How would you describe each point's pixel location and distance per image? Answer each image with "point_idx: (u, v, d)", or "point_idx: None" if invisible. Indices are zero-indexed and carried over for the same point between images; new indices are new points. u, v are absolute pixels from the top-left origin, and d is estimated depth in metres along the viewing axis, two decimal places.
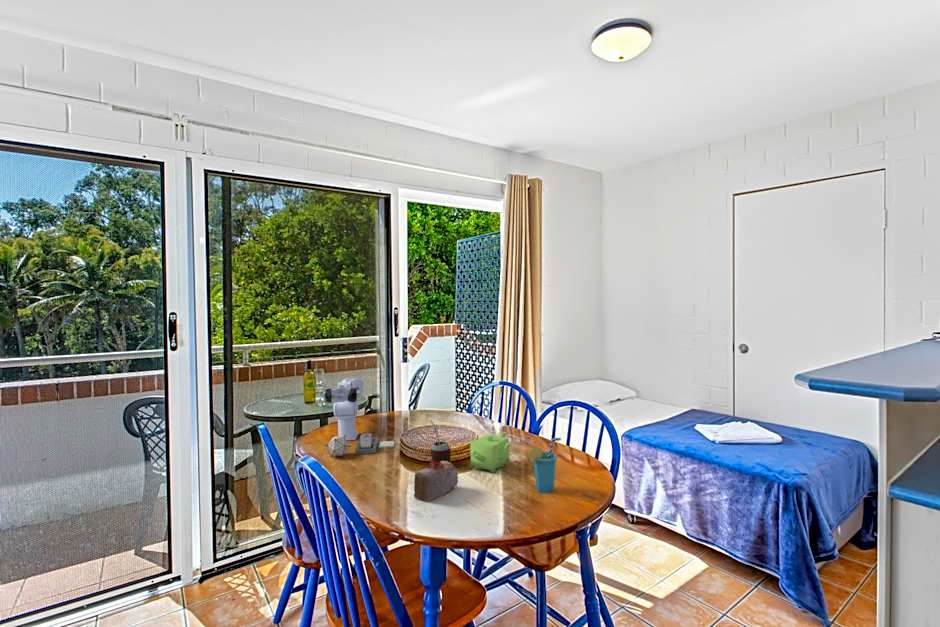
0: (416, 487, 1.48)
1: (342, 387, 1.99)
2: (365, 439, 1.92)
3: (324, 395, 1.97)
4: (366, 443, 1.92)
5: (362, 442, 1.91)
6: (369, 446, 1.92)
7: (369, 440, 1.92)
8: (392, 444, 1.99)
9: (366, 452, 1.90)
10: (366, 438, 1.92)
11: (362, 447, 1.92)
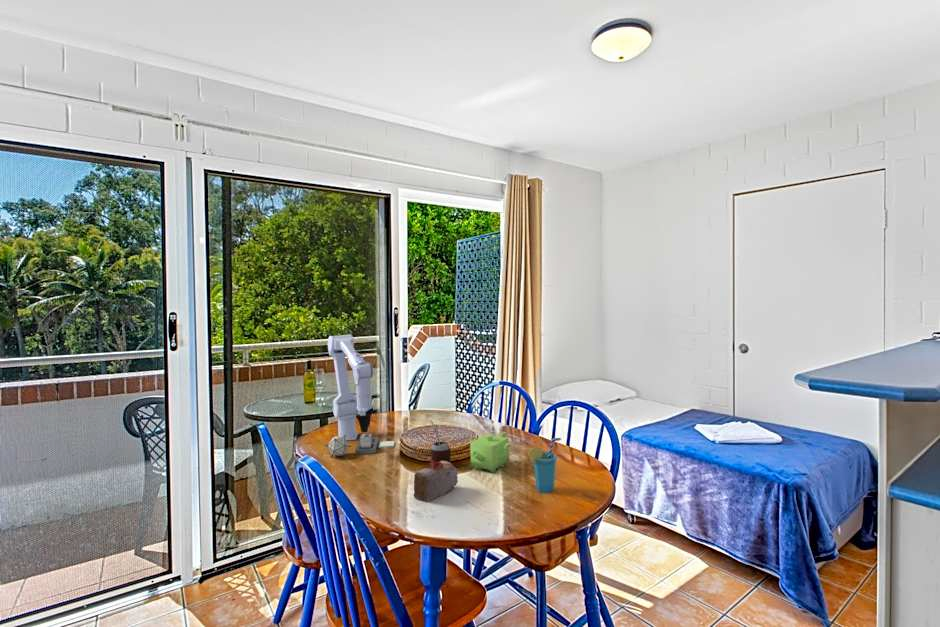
0: (416, 487, 1.48)
1: None
2: (365, 439, 1.92)
3: None
4: (366, 443, 1.92)
5: (362, 442, 1.91)
6: (369, 446, 1.92)
7: (369, 440, 1.92)
8: (392, 444, 1.99)
9: (366, 452, 1.90)
10: (366, 438, 1.92)
11: (362, 447, 1.92)
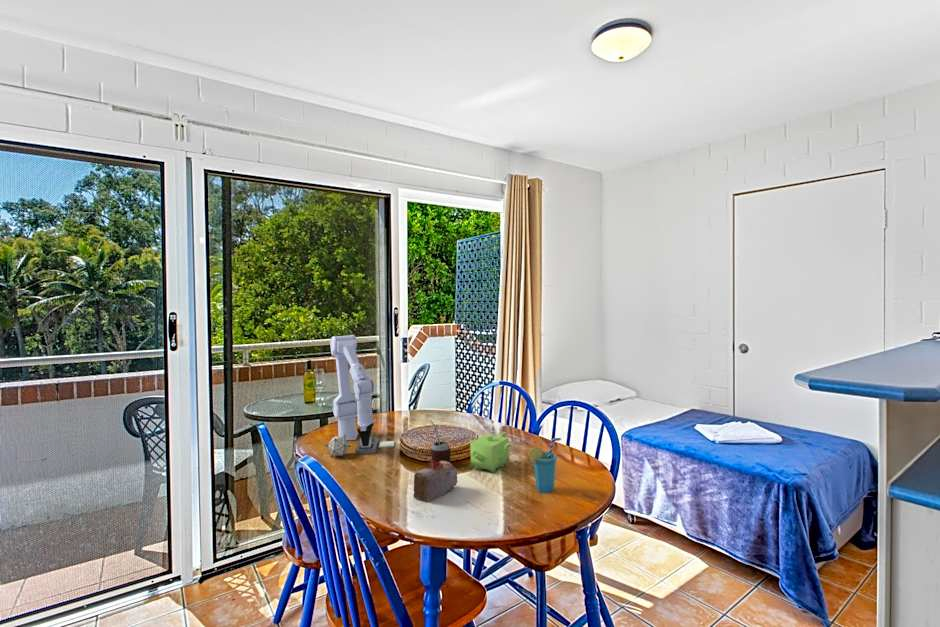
0: (416, 487, 1.48)
1: None
2: None
3: None
4: None
5: None
6: (369, 446, 1.92)
7: (369, 440, 1.92)
8: (392, 444, 1.99)
9: (366, 452, 1.90)
10: None
11: (362, 447, 1.92)
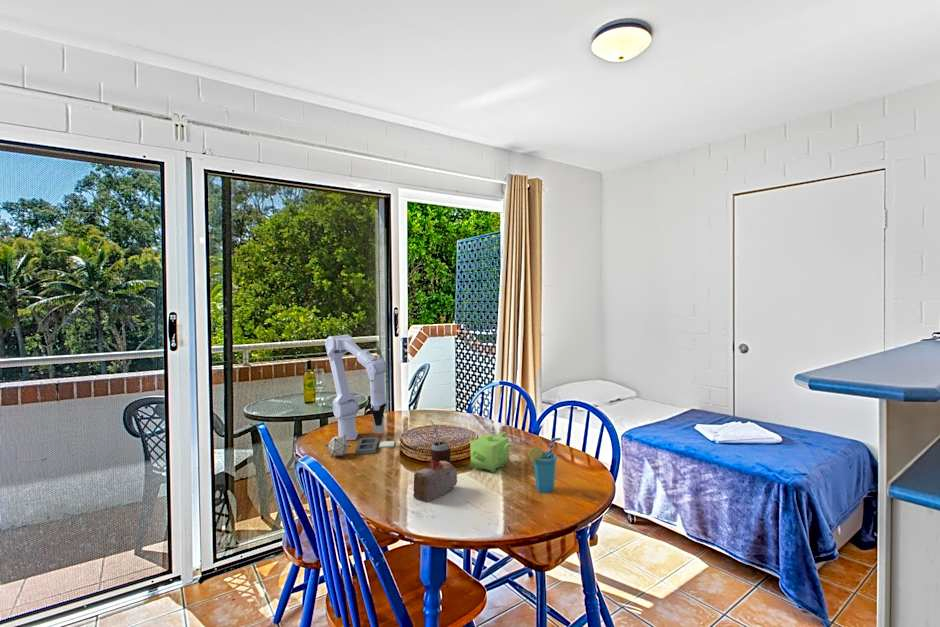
0: (415, 487, 1.48)
1: None
2: None
3: (376, 409, 1.90)
4: None
5: None
6: (382, 426, 1.95)
7: (382, 421, 1.95)
8: (392, 444, 1.99)
9: (366, 452, 1.90)
10: None
11: (375, 427, 1.95)
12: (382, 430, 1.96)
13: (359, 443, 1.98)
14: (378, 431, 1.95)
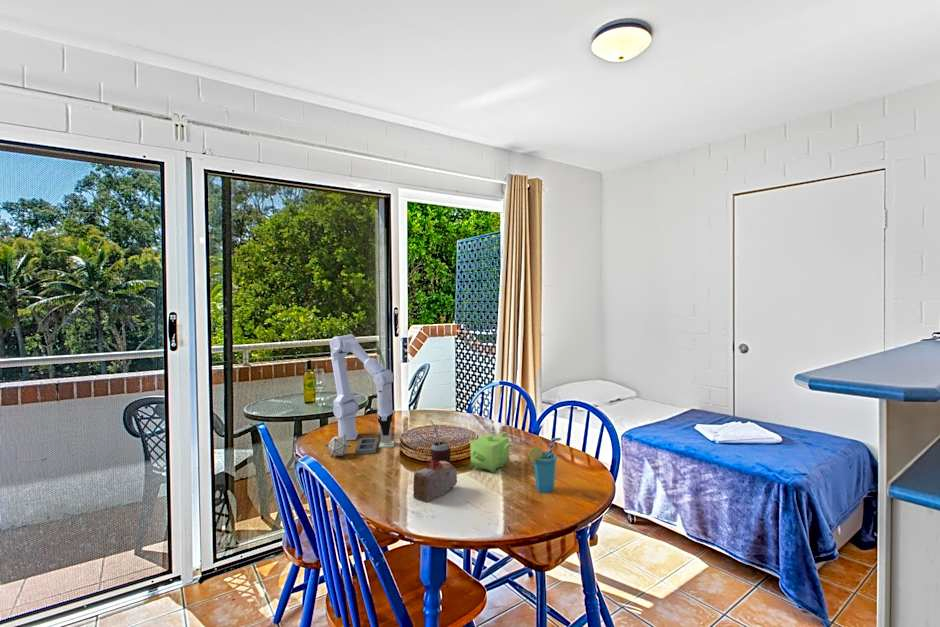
0: (415, 487, 1.48)
1: None
2: None
3: None
4: None
5: None
6: (389, 436, 1.98)
7: (389, 431, 1.98)
8: (392, 444, 1.99)
9: (366, 452, 1.90)
10: None
11: (382, 437, 1.98)
12: (389, 440, 1.98)
13: (359, 443, 1.98)
14: (385, 441, 1.98)
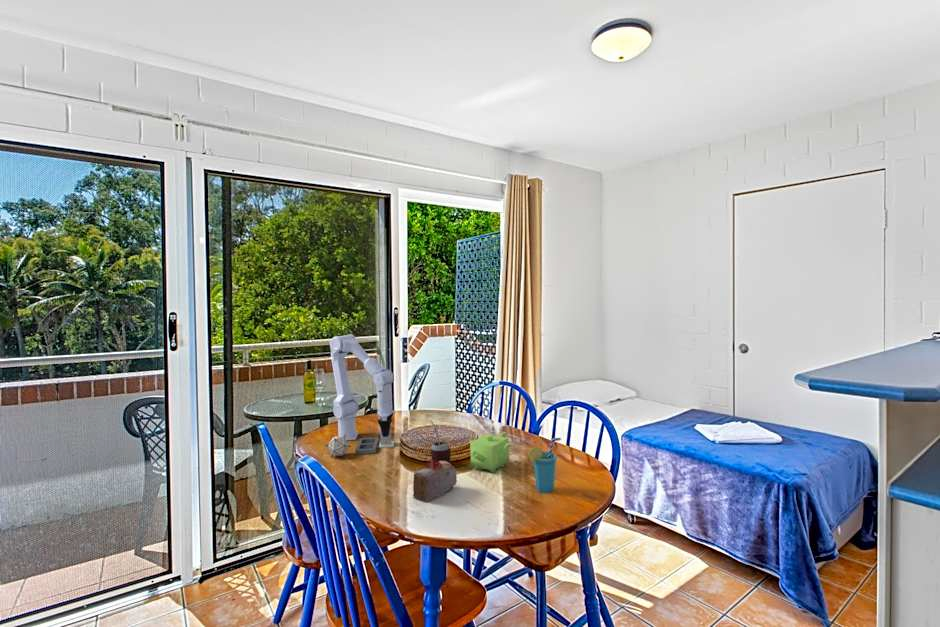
0: (415, 487, 1.48)
1: None
2: None
3: None
4: None
5: (382, 435, 1.97)
6: (389, 439, 1.98)
7: (389, 433, 1.98)
8: (392, 444, 1.99)
9: (366, 452, 1.90)
10: None
11: (382, 440, 1.98)
12: (389, 443, 1.98)
13: (359, 443, 1.98)
14: (385, 444, 1.98)
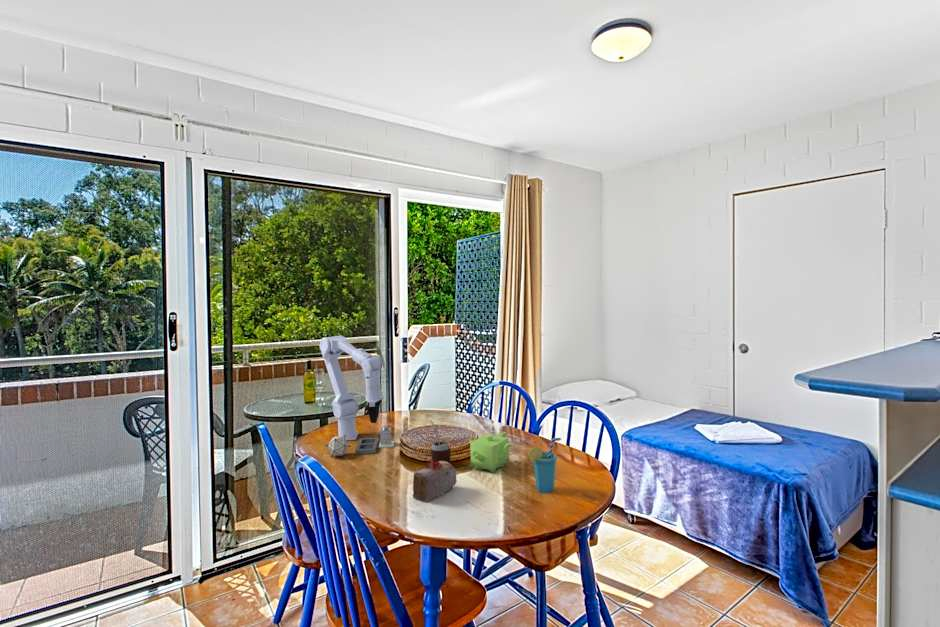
0: (415, 487, 1.48)
1: None
2: (385, 432, 1.98)
3: None
4: (386, 436, 1.98)
5: (382, 435, 1.97)
6: (389, 439, 1.98)
7: (389, 433, 1.98)
8: (392, 444, 1.99)
9: (366, 452, 1.90)
10: (386, 431, 1.98)
11: (382, 440, 1.98)
12: (389, 443, 1.98)
13: (359, 443, 1.98)
14: (385, 444, 1.98)
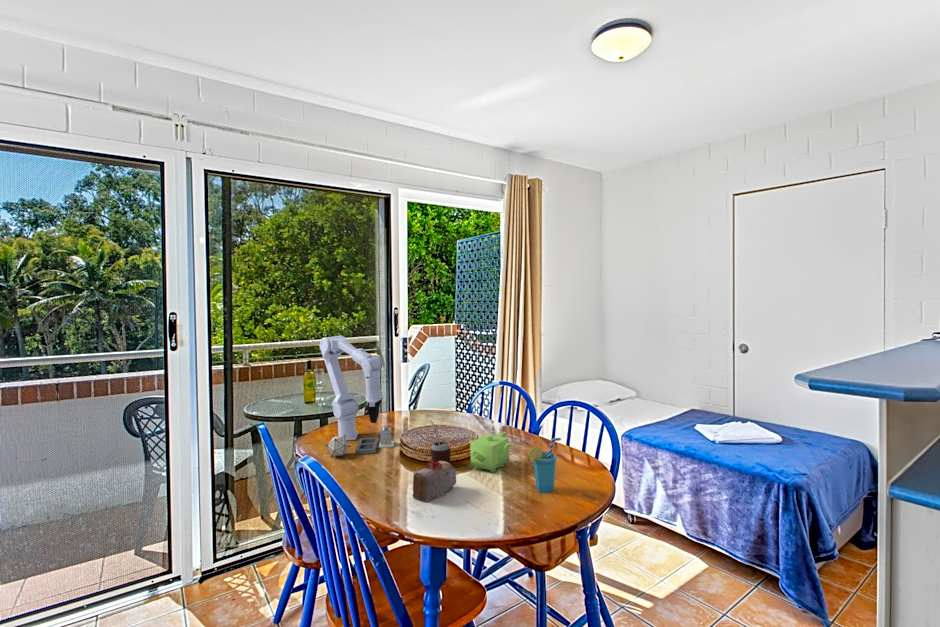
0: (415, 487, 1.48)
1: None
2: (385, 432, 1.98)
3: None
4: (386, 436, 1.98)
5: (382, 435, 1.97)
6: (389, 439, 1.98)
7: (389, 433, 1.98)
8: (392, 444, 1.99)
9: (366, 452, 1.90)
10: (386, 431, 1.98)
11: (382, 440, 1.98)
12: (389, 443, 1.98)
13: (359, 443, 1.98)
14: (385, 444, 1.98)
